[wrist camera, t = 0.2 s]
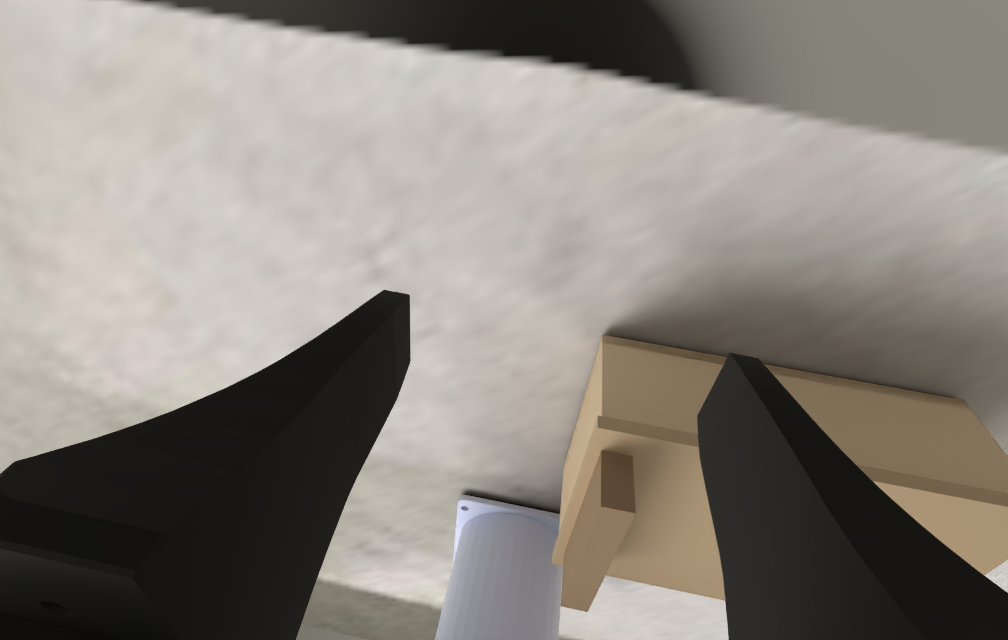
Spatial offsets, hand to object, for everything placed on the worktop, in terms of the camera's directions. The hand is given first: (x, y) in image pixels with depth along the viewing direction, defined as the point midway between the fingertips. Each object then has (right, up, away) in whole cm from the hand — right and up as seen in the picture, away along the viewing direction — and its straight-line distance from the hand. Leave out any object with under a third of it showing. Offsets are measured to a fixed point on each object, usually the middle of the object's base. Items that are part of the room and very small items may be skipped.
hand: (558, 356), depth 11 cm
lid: (+10, -8, +10) cm, 16 cm away
